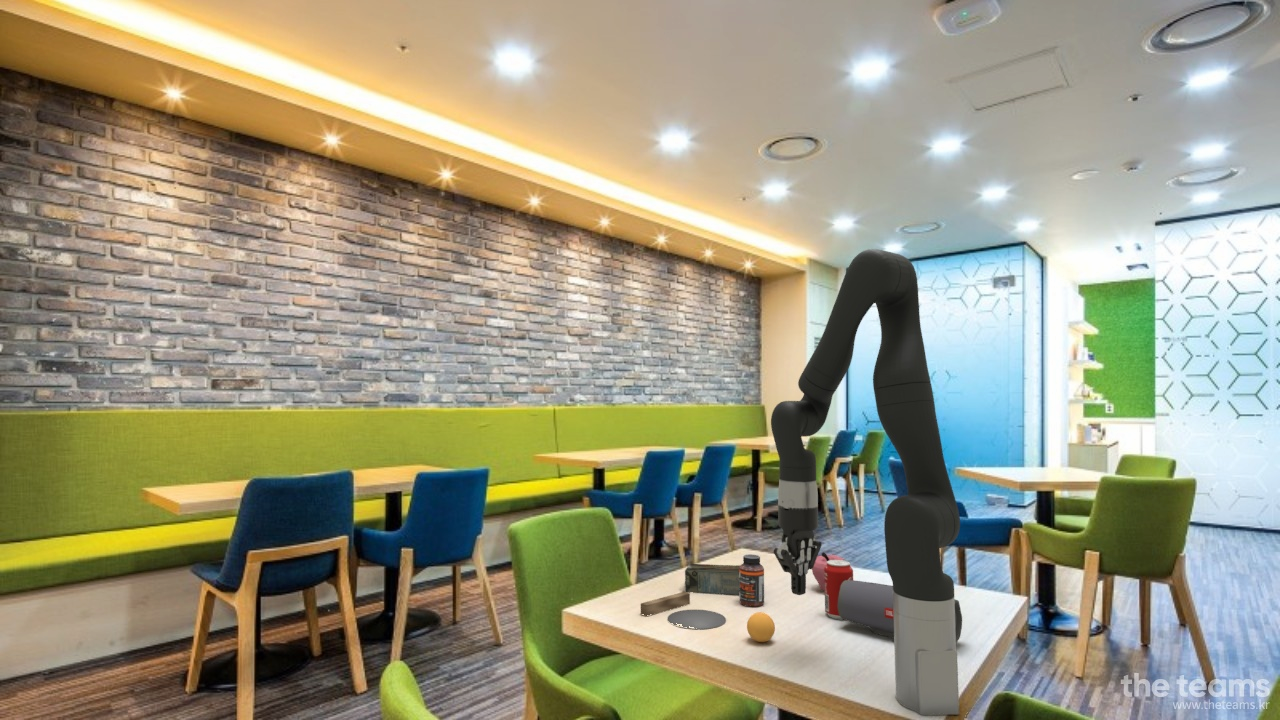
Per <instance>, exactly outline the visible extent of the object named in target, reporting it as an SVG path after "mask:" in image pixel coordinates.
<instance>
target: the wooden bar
mask: <svg viewBox="0 0 1280 720" xmlns="http://www.w3.org/2000/svg"><path fill="white" fill-rule="evenodd" d="M690 597H691V593H690V592H686V591H682V592H679V593H674V594H670V595H667V596H663V597H659V598H657V599H652V600H649V601H648V600H647V601H645V602H644V601H643V602H641V603H640V615H641V614H644V615H646V616H647V615H650V614H654V613H658V614H660V613H659V612H661V613H664V612H667V611H666V610H668V611H671V610H674V609H673V608H675V609H678V608H681V606H682V607H685V606H688V605H691V598H690ZM684 605H685V606H684ZM677 607H678V608H677ZM670 609H671V610H670ZM663 611H664V612H663ZM654 615H655V614H654ZM646 616H645V617H646ZM647 617H648V616H647Z"/></svg>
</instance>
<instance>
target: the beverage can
mask: <svg viewBox="0 0 1280 720" xmlns="http://www.w3.org/2000/svg"><path fill="white" fill-rule="evenodd" d="M845 580H854V569H853V568H852V566H851V562H849V561H846V560H844V561H843V560H829V561H827V565H826V566H825V567H824V586H825V591H824V611H825V613H826V614H827V615H828V617H829V616H830V618H831V617H832V618H831V619H834V618H836V619H835V620H839V619H842V618H841V617H840V615H839V612H838V607H837V604H838V597H839V591H840V587H841V584H842V583H843V582H844V581H845ZM844 621H846V620H845V619H844Z"/></svg>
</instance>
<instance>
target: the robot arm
mask: <svg viewBox="0 0 1280 720" xmlns="http://www.w3.org/2000/svg"><path fill="white" fill-rule="evenodd" d="M918 285H919V284H918V277H917V272H916V270H915V266H914V265H913V263H912V262H911V260H909V258H907V257H906V256H905V255H902V254H899V253H895V252H891V251H888V250H887V251H886V250H883V249H876V248H871V249H869V248H868V249H865V250H862V251H860V252H859V253H858V254H856V256H854V258H853V259H852V260H851V262H850V263H849V265H848V268H847V269H846V272H845V275H844V277H843V280H842V282H841V284H840V288H839V290H838V294H837V296H836V298H835V299H836V300H835V302H834V305H833V307H832V310H831V312H830V315H829V318H828V320H827V323H826V325H825V327H824V331H823V333H822V335H821V337H820V339H819V342H818V344H817V345H816V347H815V349H814V351H813V353H812V355H811V357H810V358H809V360H808V362H807V364H806V366H805V367H804V369H803V371H802V373H801V374H800V377H799V378H798V383H797V384H798V388H799V390H800V391H801V393H803V396H802V397H801V399H800V400H783V401H780V402H779V403H777V404H776V406H775V407H774V409H773V410H772V413H771V418H770V427H771V431H772V437H773V441H774V444H775V447H776V451H777V454H778V458H779V461H778V462H779V464H778V466H779V469H778V470H779V473H778V475H779V479H778V480H779V483H778V490H777V491H778V492H777V494H778V495H777V497H778V498H777V499H778V501H777V503H778V505H777V506H778V508H777V511H778V514H777V515H778V518H777V520H778V527H779V528H780V529H782V534H781V545H780V546H779V547H775V548H774V549H773V555H774V556H775V558H776V560H777V561H778V563H779V565H780V567H781V569H782V570H783V572H785V573H789V574H790V577H791V578H790V581H791V582H790V585H791V586H790V588H791V589H790V590H791V593H792V594H794V595H796V596H801V595H805V594H806V590H807V589H806V588H807V574H808V573H809V570H812V569H813V566H814V564H815V561H816V559H817V557H818V556H819V553H820V550H821V548H822V545H823V544H822V541H820V540H816V539H815V532H814V531H815V530H818V528H819V527H818V526H819V504H818V503H819V494H818V486H817V459H816V454H815V453H814V452H813V450H809V449H806V448H805V446H804V443H803V442H804V441H803V438H802V437H811V436H813V435H815V434H817V433H818V432H819V431H820V430H821V429H822V428H823V427H824V425H825V423H826V420H827V417H828V415H829V411H830V408H831V404H832V400H833V395H834V394H835V392H837V389H838V387H839V386H840V384H841V382H842V381H843V379H844V377H846V374H847V373H848V370H849V368H850V367H851V363H852V360H853V356H854V348H855V341H856V336H857V332H858V329H859V326H860V324H861V322H862V320H863V319H864V318H865V316H866V314H867V313H868V312H869V310H870V309H871V308H872V306H873V305H874V304H875V305H876V310H877V313H878V319H879V323H880V324H879V325H880V331H881V336H880V337H881V339H880V344H879V345H880V346H879V350H878V353H877V357H876V360H875V364H874V369H873V376H872V385H873V393H874V399H875V406H876V412H877V416H878V419H879V422H880V424H881V426H882V428H883V430H884V432H885V434H886V436H887V437H888V439H889V440H890V443H891V445H892V446H893V447H894V449H895V451H896V453H897V455H898V457H899V458H900V461H901V463H902V467H903V470H904V471H903V472H904V476H905V482H906V483H905V484H906V489H907V490H906V491H907V494H905V495H901V496H898V497H896V498H895V499H893V500H892V501H891V502H889V505H888V506H887V508H886V512H885V513H884V514H885V515H884V523H883V524H884V527H883V528H884V544H885V545H884V546H885V557H886V559H885V560H886V567H887V572H888V574H889V577H890V579H891V582H892V586H893V613H894V638H893V640H894V641H893V643H894V674H895V698H896V700H897V702H898V703H899V704H901V705H902V706H903V707H906V708H908V709H910V710H913V711H915V712H916V713H917V714H919V715H923V716H925V715H927V716H928V715H930V716H931V715H932V716H933V715H934V716H935V715H939V716H940V715H960V700H959V697H960V696H959V695H960V694H959V674H958V673H959V671H958V670H959V669H958V667H959V666H958V663H959V662H958V653H957V642H956V633H955V600H956V599H955V584H954V580H953V578H952V576H950V575H949V574H947V573H944V571H943V570H942V563H941V561H942V560H941V552H940V549H942V548H946V547H948V546H949V545H951V544H952V543H953V542H955V540H956V539H957V538H958V535H959V534H960V530H961V529H960V528H961V517H960V512H959V507H958V504H957V500H956V498H955V493H954V491H953V487H952V483H951V479H950V477H949V473H948V469H947V466H946V462H945V458H944V457H945V456H944V453H943V452H944V451H943V446H942V441H941V434H940V428H939V424H938V419H937V413H936V405H935V398H934V392H933V386H932V383H931V382H932V381H931V376H930V373H929V368H928V363H927V357H926V350H925V345H924V344H925V343H924V338H923V333H922V325H921V315H920V301H919V300H920V299H919V287H918ZM954 599H955V600H954Z"/></svg>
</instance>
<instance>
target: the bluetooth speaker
mask: <svg viewBox="0 0 1280 720" xmlns="http://www.w3.org/2000/svg"><path fill="white" fill-rule="evenodd" d="M954 600H955V633H956V643H958V641H959V640H960V638H961V636H962V635H961V634H962V627H963V616H962V610H961V606H960V601H959V600H958V599H956V598H954ZM837 607H838V612H839V615H840V617H841V618H842V619H845V620H844V621H848V622H850V623H852V624H853V623H854V624H857V625H861V626H864V627H867V628H869V629H870V630H871V631H872V633H874V634H877V635H881V636H885V637H889V638H892V637H893V639H894V613H893V585H890V584H885V583H877V582H869V581H864V580H863V581H862V580H854V579H853V580H845V581H844V582H843V583H842V584H841V587H840V591H839V597H838V604H837Z"/></svg>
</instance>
